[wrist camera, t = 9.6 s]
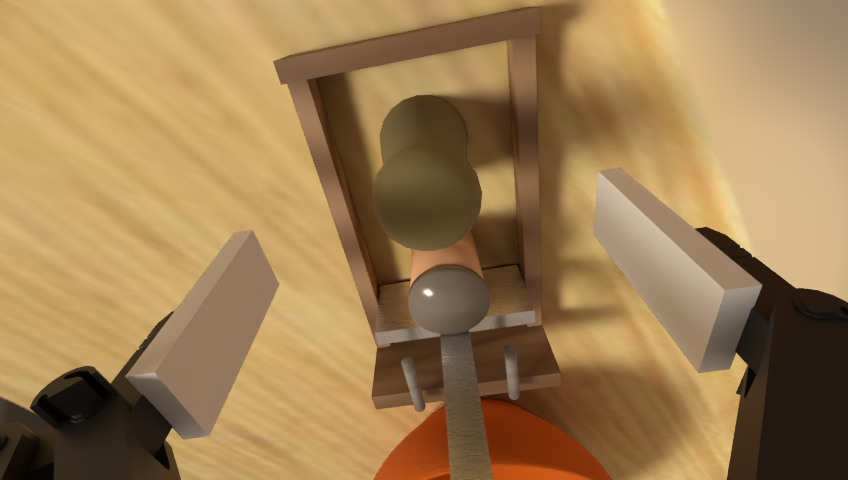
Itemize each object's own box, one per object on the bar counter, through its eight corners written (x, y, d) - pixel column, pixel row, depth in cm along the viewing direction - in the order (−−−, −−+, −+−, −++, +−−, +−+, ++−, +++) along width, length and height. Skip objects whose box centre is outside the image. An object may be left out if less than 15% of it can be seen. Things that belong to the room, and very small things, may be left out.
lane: (288, 55, 23) (231, 76, 16) (525, 7, 22) (577, 6, 15) (382, 342, 36) (374, 425, 29) (536, 321, 35) (566, 402, 28)
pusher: (380, 285, 32) (349, 527, 17) (516, 264, 31) (609, 500, 16) (384, 296, 33) (356, 539, 18) (517, 276, 32) (606, 513, 17)
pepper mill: (484, 121, 26) (524, 186, 16) (441, 195, 28) (454, 287, 19) (402, 77, 24) (394, 121, 15) (366, 160, 27) (338, 241, 17)
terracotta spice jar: (404, 221, 29) (400, 278, 23) (471, 210, 29) (486, 265, 23) (416, 275, 32) (416, 339, 26) (478, 265, 32) (493, 328, 26)
